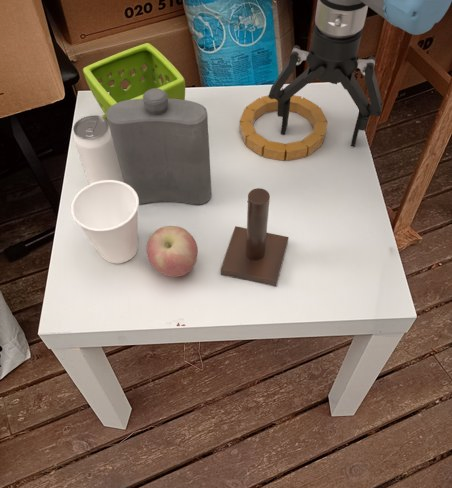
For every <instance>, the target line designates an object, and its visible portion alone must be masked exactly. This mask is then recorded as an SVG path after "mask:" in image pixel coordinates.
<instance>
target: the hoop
mask: <svg viewBox="0 0 452 488" xmlns="http://www.w3.org/2000/svg"><path fill="white" fill-rule="evenodd" d="M276 111H278V101H277V100H276V99H270V98H269V95H264V96H261V97H257V99H255V100H254V101H252V102H251V103H249V104H247V105H246V106H245V107H244V109H243V112H242V114H241V117H240V119H239V134H240V136H241V138H242V141H243V143H244V145H245V146H246V148H248V150H249V149H250V150H251V151H252V152H254V153H255V154H257V155H258V156H260V157H263V158H266V159H270V160H276V161H281V162H288V161H294V160H299V159H303V158H304V159H305V158H307V157H309V156H310V155H312V154H313V153H314V152H316V151H317V150H318V149H319V148H321V147H322V145H323V144H324V139H325V137H326V132H327V127H328V119H327V117H326V115H325V114H324V112H323V110H322V108H321V107H320V106H319V105H318V104H317V103H315V102H313V101H311V100H309V99H308V98H305V97H304V96H303V97H302V96H300V95H296V94H294V95H293V96H292V97H291V100H290V108H289V112H292V113H296V114H298V115H300V116H301V117H303V118H304V119H307V120H308V121H309V123H310V126H311V127H312V129H313V130H312V132H310V134H308V135H307V136H305V138H303V139H302V140H298V141H293V142H287V143H282V142H277V141H272V140H268V139H267V138H265V137H264V136H262V135H261V134H259V133H258V132H256V129H255V126H254V124H255V121H256V120H257V119H259V118H260V117H262V116H264V115H265V114H266V113H272V112H276Z"/></svg>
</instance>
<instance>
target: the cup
mask: <svg viewBox="0 0 452 488" xmlns="http://www.w3.org/2000/svg"><path fill="white" fill-rule="evenodd" d="M139 206H140V204H139V198H138V195H137V193H136V192H135V190H134V189H133V188H132V187H131V186H129V185H128V184H126V183H124V182H121V181H116V180H103V181H98V182H94V183H92V184H90V185H89V184H88V185H86V186H84V187H82V189H80V190H79V191H78V193H77V194H75V196H74V198H73V199H72V202H71V205H70V214H71V216H72V218H73V221H74V222H75V223H76V224H77V225H78V226H80V227H81V229H82V230H83V232H84V233H85V235H86V236H87V237H88V240H90V242H91V243H92V244H93V246H94V247H95V249H96V250H97V252H98V253H99V254H100V256H101V257H102V258H103V259H104V260H105V261H106V262H108V263H111V264H123V263H126V262H128V261H130V260H131V259H133V257H135V255H136V254H137V253H138V248H139V237H138V236H139V235H138V234H139V231H138V230H139V227H138V226H139V225H138V224H139V223H138V222H139V221H138V220H139V215H138V214H139V213H138V212H139Z"/></svg>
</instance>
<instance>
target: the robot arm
mask: <svg viewBox="0 0 452 488" xmlns="http://www.w3.org/2000/svg"><path fill="white" fill-rule="evenodd" d="M451 4H452V0H317V3H316V8H315V16H314V26H313V31H312V37H311V45H310V49H309V51H306V50H303V49H301V47H300V46H299V45H297V44H296V45H294V46H293V48H292V50H291V54H290V57H289V60H288V61H287V63H286V64H285V66H284V67H283V69H282V70H281V72H280V73H279V75H278V76H277V78H276V79H275V81H274V82H273V83H272V85H271V87H270V90H269V93H268V96H269V98H270V99H276V100H277V101H278V111H277V112H276V115H277V117H279V118H281V119H282V120H281V127H280V129H281V130H280V134H281V135H286V131H287V129H288V124H289V116H290V111H289V108H290V100H291V97H292V96H293V95H296V94H297V93H299V91H301V90H302V89H303V88H305V87H306V86H307V85H309V84H311V83H312V82H314V81H315V80H318V82H320V83H330V84H332V85H338V84H341V87H342V88H343V89H344V90H346V92H347V93H348V95H349V96H350V98H351V100H352V101H353V103H354V105H355V106H356V108H357V109H358V114H357V116H356V117H357V118H356V121H355V126H354V128H353V133H352V136H351V137H352V138H351V142H350V147H354V148H355V147H356V143H357V139H358V135H359V132H360V131H361V132H362V131H363V132H364V131H366V130H367V126H368V123H369V120H370V117H371V116H375V117H379V116H381V115H382V110H383V106H384V105H383V100H382V96H381V92H380V88H379V84H378V80H377V76H376V71H375V66H376V57H375V56H369V57H368V58H367V59H360V58H359V57H358V56H359V55H358V53H359V48H360V44H361V39H362V36H363V28H364V26H365V23H366V18H367V14H368V8H370V9H371V10H372V11H374V12H375V13H376V14H378V15H379V16H381V17H382V18H383V19H385V20H386V21H387V22H388V23H389V24H390V25H392V26H393V27H397V28H399V29H401V30H403V31H405V32H406V33H408V34H410V35H414V36H416V35H417V36H418V35H423V34H425V33H427V32H428V31H430V30H432V29H433V27H434V25H435V24H438V23H439V22H440V21H441V20H442V19H443V18H444V17H445V15H446V13H447V12H448V10H449V8H450V6H451ZM303 61H306V64H307V66H308V67H307V68H306V69H305V70H304V71H303V72H302V73H300V74H299V75H298V76H297V77H296V78H295V79H293V80H292V81H291V82H289V84H288V85H286V86H285V87H284V85H285V84H286V82H287V81H288V79H289V78H290V77H291V75H292V73H293V72H294V71H295V69H296V66H299V65H302V63H303ZM357 69H359V70H360V73H361V75H362V76H364V82H365V86H366V89H367V93H368V97H369V99H368V97H367V95H366V94H365V92H364V90H363V89H362V87H361V86H360V84H359V83H358V81H357V79H356V77H355V73H354V72H356V70H357ZM283 87H284V88H283Z"/></svg>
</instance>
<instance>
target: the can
mask: <svg viewBox="0 0 452 488" xmlns="http://www.w3.org/2000/svg"><path fill="white" fill-rule="evenodd" d="M72 130H73V141H74V144H75V147H76V150H77V154H78V156H79V159H80V162H81V165H82V168H83V172H84V174H85V176H86V179H87V183H88V185H90V184H92V183H94V182H98V181H103V180H116V181H121V182H123V178H122V174H121V170H120V166H119V163H118V159H117V155H116V151H115V147H114V143H113V139H112V136H111V132H110V128H109V125H108V122H107V120H106V119H105V118H103V117H102V115H101V116H100V115H97V114H96V115H95V114H92V115H86V116H83V117H81V118H79V119H78V120H77V121H75V123H74V125H73V127H72Z"/></svg>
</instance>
